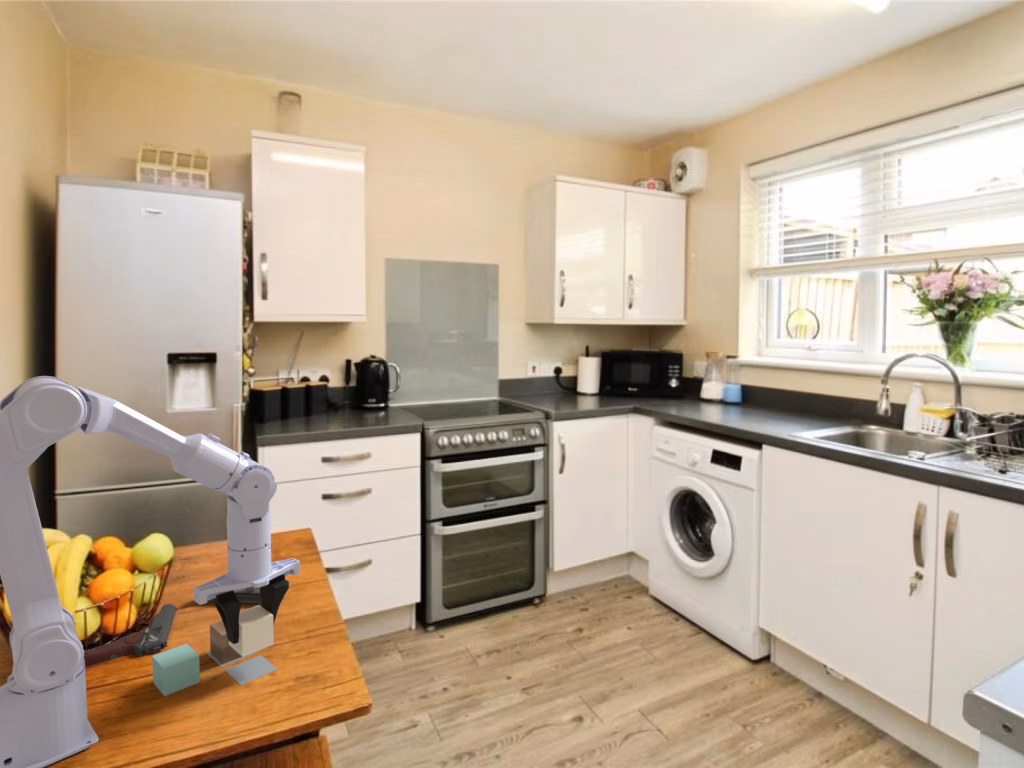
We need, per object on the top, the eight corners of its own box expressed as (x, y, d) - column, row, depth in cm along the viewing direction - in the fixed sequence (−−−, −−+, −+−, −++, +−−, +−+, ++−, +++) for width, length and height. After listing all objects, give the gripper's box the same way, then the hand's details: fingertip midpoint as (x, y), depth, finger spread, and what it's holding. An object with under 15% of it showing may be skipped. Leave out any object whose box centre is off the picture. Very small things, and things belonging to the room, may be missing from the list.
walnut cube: (222, 664, 86) (222, 635, 86) (210, 652, 89) (209, 624, 89) (253, 652, 90) (252, 624, 89) (240, 641, 93) (239, 614, 92)
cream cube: (242, 656, 82) (242, 626, 81) (228, 644, 85) (228, 615, 84) (273, 644, 85) (273, 615, 85) (259, 633, 88) (258, 604, 88)
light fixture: (205, 599, 108) (204, 570, 108) (284, 602, 108) (284, 573, 108) (195, 607, 105) (194, 578, 105) (277, 610, 105) (276, 580, 104)
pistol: (97, 627, 98) (178, 614, 103) (70, 675, 84) (165, 657, 89) (96, 612, 98) (177, 600, 103) (69, 658, 84) (164, 641, 89)
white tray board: (216, 699, 79) (216, 695, 79) (182, 663, 87) (182, 660, 87) (286, 668, 87) (286, 665, 87) (248, 638, 95) (248, 635, 95)
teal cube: (164, 700, 79) (163, 668, 78) (153, 686, 82) (152, 655, 81) (199, 685, 82) (199, 655, 82) (187, 672, 85) (186, 643, 85)
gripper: (207, 566, 75) (209, 665, 77) (310, 538, 86) (310, 625, 88) (186, 551, 80) (189, 645, 81) (286, 526, 91) (287, 609, 92)
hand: (250, 634), depth 85 cm, fingers closed on cream cube, 4 cm apart
